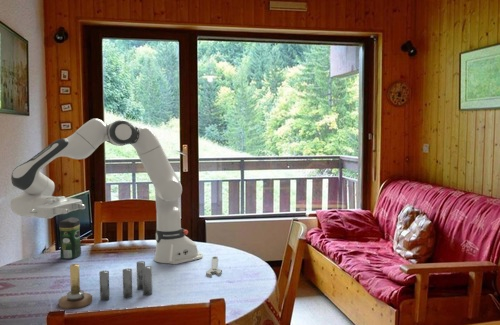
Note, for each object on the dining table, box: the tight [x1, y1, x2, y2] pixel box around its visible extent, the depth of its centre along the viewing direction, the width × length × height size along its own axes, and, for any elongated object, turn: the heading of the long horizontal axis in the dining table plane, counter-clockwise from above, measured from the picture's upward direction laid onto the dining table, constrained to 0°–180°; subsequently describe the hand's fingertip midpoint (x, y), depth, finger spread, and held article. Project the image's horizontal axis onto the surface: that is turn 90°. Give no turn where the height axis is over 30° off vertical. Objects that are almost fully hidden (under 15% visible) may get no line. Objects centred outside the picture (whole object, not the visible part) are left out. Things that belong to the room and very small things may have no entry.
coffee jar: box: [58, 216, 82, 260], centre depth 207 cm, size 10×8×19 cm
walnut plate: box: [58, 292, 93, 310], centre depth 153 cm, size 11×11×2 cm
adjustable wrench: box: [205, 256, 223, 278], centre depth 192 cm, size 25×6×2 cm, turn 179°
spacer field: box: [98, 260, 153, 302], centre depth 161 cm, size 15×17×10 cm
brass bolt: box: [66, 263, 85, 302], centre depth 153 cm, size 6×6×12 cm
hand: (75, 209), depth 169 cm, fingers open, 8 cm apart
